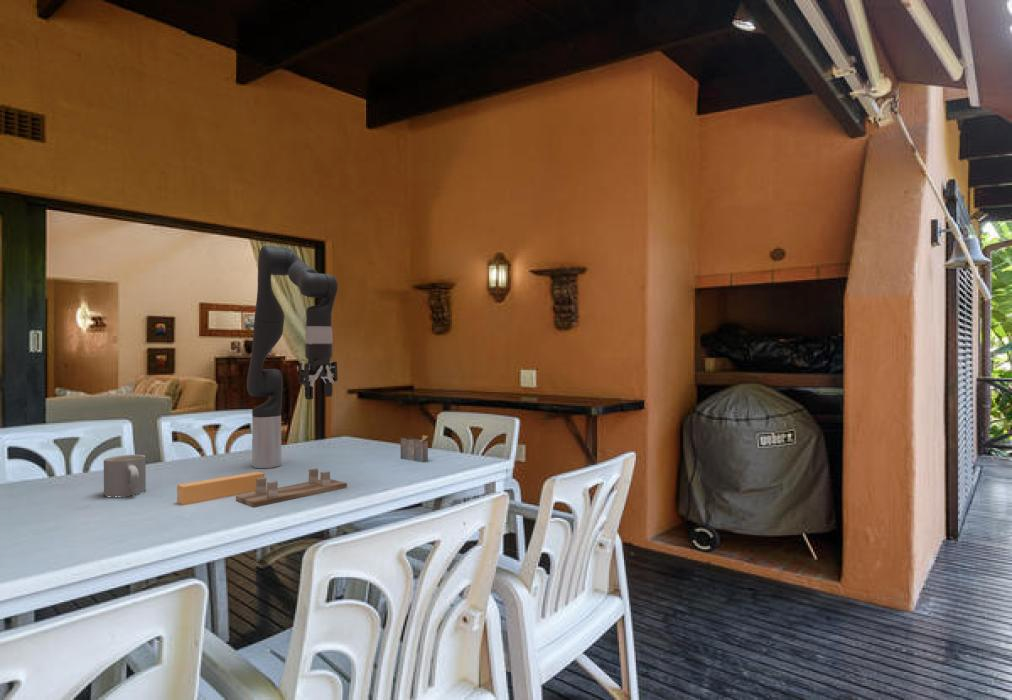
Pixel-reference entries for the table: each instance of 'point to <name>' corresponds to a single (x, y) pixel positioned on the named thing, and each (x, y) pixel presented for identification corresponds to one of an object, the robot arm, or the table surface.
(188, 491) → the orange wooden bar
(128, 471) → the coffee mug
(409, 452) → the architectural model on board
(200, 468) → the table surface
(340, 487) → the brown wooden bar holder
